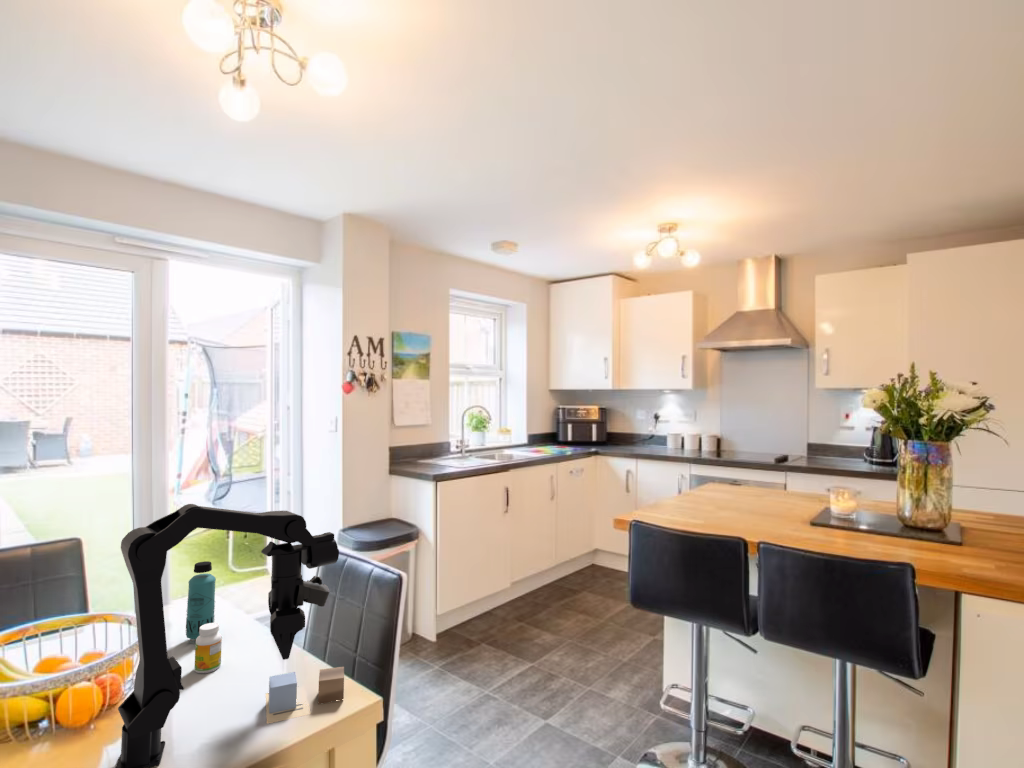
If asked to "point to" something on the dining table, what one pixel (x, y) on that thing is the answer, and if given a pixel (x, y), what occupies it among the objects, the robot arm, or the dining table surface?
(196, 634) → the beverage bottle
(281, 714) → the letter
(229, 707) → the dining table surface
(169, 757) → the dining table surface
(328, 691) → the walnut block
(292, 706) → the cube
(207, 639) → the supplement bottle
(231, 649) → the dining table surface
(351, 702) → the dining table surface
